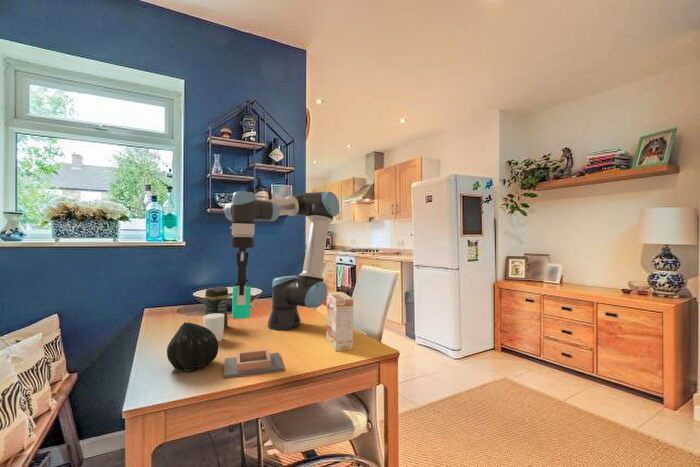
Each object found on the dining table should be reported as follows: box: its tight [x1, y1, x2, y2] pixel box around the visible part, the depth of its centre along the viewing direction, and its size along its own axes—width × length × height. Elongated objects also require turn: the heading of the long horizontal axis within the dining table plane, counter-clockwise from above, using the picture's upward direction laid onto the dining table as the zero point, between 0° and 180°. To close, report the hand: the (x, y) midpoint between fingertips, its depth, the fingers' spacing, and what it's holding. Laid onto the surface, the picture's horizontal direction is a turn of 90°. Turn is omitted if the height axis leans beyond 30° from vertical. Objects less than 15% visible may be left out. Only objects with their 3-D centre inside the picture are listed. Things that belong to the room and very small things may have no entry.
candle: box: [231, 285, 252, 320], centre depth 114 cm, size 6×6×12 cm
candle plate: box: [222, 348, 285, 379], centre depth 108 cm, size 18×14×3 cm
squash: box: [166, 321, 219, 372], centre depth 107 cm, size 14×15×15 cm
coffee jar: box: [204, 286, 229, 329], centre depth 150 cm, size 10×8×19 cm
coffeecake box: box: [325, 291, 354, 352], centre depth 130 cm, size 15×7×20 cm, turn 18°
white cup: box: [202, 313, 225, 343], centre depth 133 cm, size 8×8×10 cm
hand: (241, 302), depth 114 cm, fingers closed on candle, 6 cm apart
